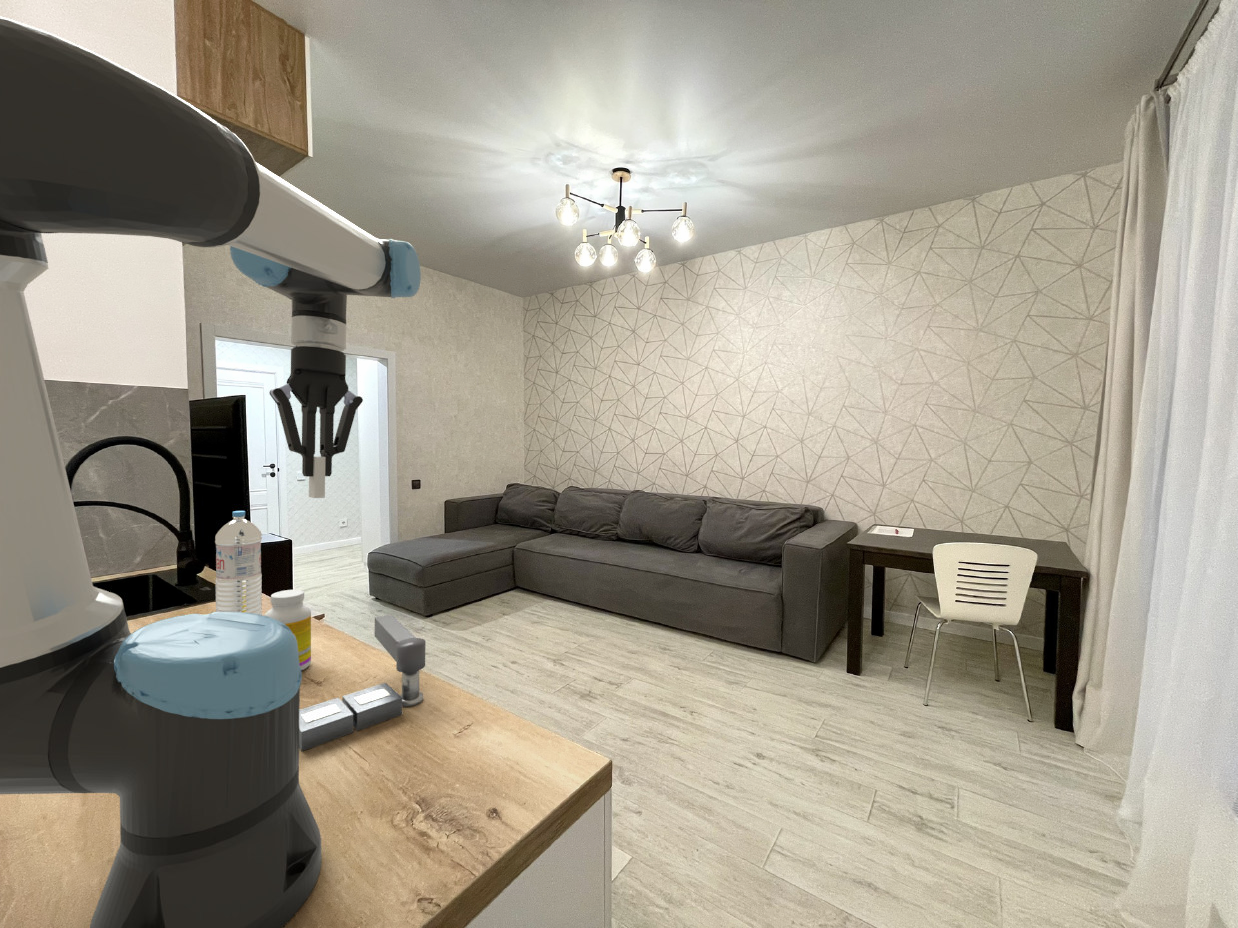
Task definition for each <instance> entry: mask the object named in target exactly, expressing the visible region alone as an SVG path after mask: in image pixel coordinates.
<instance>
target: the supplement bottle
mask: <svg viewBox="0 0 1238 928" xmlns="http://www.w3.org/2000/svg"><path fill="white" fill-rule="evenodd" d="M304 599H305V591H304V590H303V589H302V590H301V589H287V590H285V589H284V590H280V591H277V592H274V593H272V594H271V595H270V603H271V605H272V607H271V608H270V609H268V610H267V611H266V613H265V614H264V616H267V617H271V618H273V619H276V620H278V621H280V622H282V623H284V624H285V625H286V626H287V627H288V628H289V629H290V630H291V632H292V633H293V634H294V635H295V637H296V640H297V645H298V655H299V665H300V668H301V672H302V671H304V670H306V669H307V668H308V667H309V666H310V665H311V663H312V611H311V609H310V607H309V606H308V605H306V604H304Z"/></svg>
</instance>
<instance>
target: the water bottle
mask: <svg viewBox="0 0 1238 928" xmlns="http://www.w3.org/2000/svg"><path fill="white" fill-rule="evenodd" d="M245 517H246V511H245V510H235V511H232V518H233V519H232V520H230V521H228V522H227V523H226V524H224V525H223V526H222V527H221V528H220V529H219V530H218V531H217V533H216V534H215V538H214V539H215V540H214V543H215V550H216V551H215V552H216V554H215V562H216V563H215V564H216V565H215V567H216V568H215V569H216V571H215V573H216V574H215V575H216V578H215V612H244V613H252V614H259V615H263V613H262V612H263V607H262V605H263V603H262V602H263V601H262V600H263V599H262V597H263V594H262V591H263V590H262V580H263V579H262V576H263V575H262V567H261V566H262V551H261V550H262V549H261V548H262V547H261V546H262V543H261V542H262V539H263V538H262V536H263V535H262V532H261V530H260V529H259V527H258V526H257V525H255V524H254V522H253V523H252V522H251V521H250V520H247V519H246V518H245Z"/></svg>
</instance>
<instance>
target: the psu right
mask: <svg viewBox="0 0 1238 928" xmlns="http://www.w3.org/2000/svg"><path fill="white" fill-rule="evenodd" d="M400 695H401V694H399V693H398V692H397V691H396V690H395V689H394V688H393V687H391V685H390V684H388V683H387V682H383V683H380V684H377V685H373V686H371V687H366V688H364V689H361V690H358V691H355V692H351V693H348V694H345V695H342V696H341V697H342V700H341V701H342V702H343V703H344V704H345V705H346V706H347V708H348V709H349V710H350V711H351V712H352V713H353V729H355V731H357V732H358V731H361V730H363V729H367V728H369V727H372V726H375V725H377V724H381V723H384V722H385V721H388V720H391V719H394V718H398V717H400V716H402V715H403V706H402V697H401V696H400Z"/></svg>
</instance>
